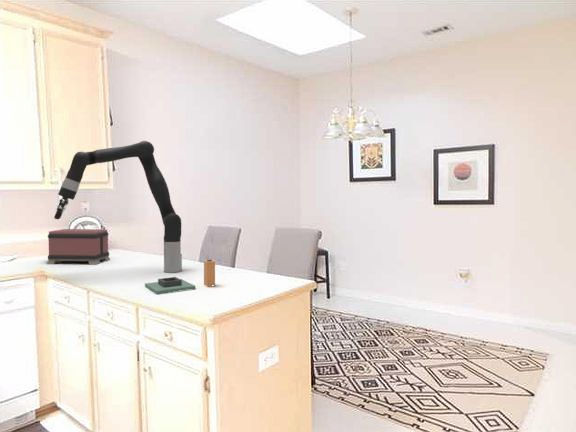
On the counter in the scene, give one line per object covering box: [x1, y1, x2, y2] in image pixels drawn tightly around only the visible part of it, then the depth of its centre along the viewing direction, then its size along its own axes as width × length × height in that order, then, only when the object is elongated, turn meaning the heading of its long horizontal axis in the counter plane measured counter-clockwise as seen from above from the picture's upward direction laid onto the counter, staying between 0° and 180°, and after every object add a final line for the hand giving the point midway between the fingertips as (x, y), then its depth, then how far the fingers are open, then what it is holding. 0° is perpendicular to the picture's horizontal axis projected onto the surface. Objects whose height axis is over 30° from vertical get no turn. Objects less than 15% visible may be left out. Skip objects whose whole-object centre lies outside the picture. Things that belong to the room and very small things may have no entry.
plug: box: [203, 259, 216, 287], centre depth 194 cm, size 4×4×13 cm
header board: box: [144, 276, 196, 295], centre depth 189 cm, size 18×18×4 cm
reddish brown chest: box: [46, 228, 111, 266], centre depth 257 cm, size 19×34×21 cm, turn 88°
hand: (57, 218), depth 203 cm, fingers open, 8 cm apart
